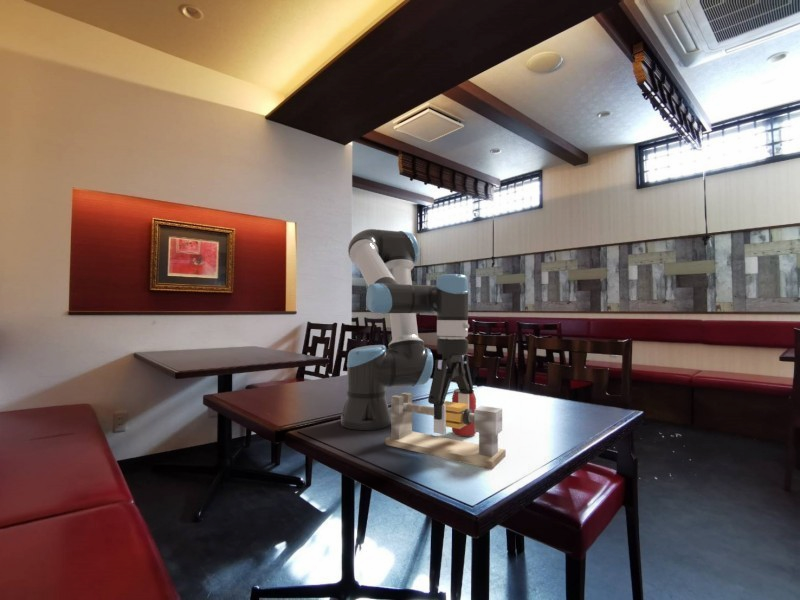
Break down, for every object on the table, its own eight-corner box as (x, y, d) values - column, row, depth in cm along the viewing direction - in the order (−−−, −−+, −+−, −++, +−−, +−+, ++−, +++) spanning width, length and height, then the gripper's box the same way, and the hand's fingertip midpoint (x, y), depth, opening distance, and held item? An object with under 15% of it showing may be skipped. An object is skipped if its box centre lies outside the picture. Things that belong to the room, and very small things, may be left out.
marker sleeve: (436, 424, 92) (436, 404, 93) (445, 420, 96) (445, 401, 97) (459, 429, 89) (459, 408, 89) (467, 424, 93) (467, 404, 93)
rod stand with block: (385, 444, 98) (385, 397, 98) (404, 435, 105) (404, 391, 106) (492, 469, 82) (492, 412, 83) (505, 456, 90) (505, 404, 91)
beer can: (447, 431, 109) (447, 389, 109) (467, 429, 111) (467, 387, 112) (460, 438, 103) (460, 393, 103) (480, 435, 105) (480, 391, 106)
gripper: (443, 341, 81) (443, 443, 80) (485, 336, 102) (485, 416, 101) (412, 339, 85) (412, 436, 84) (459, 335, 106) (459, 412, 105)
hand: (452, 426), depth 93 cm, fingers open, 13 cm apart
